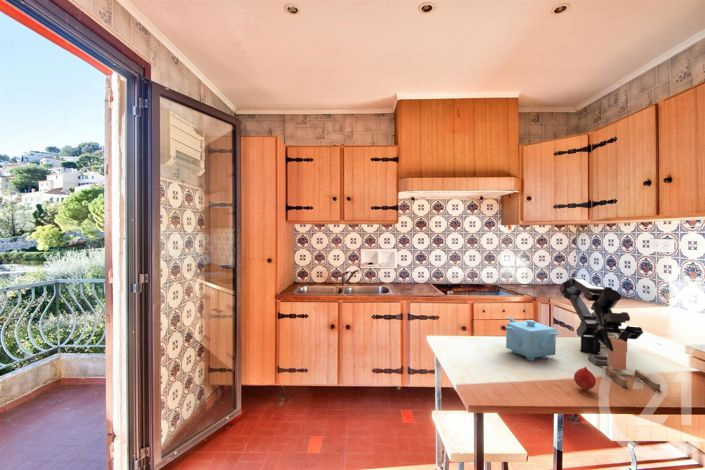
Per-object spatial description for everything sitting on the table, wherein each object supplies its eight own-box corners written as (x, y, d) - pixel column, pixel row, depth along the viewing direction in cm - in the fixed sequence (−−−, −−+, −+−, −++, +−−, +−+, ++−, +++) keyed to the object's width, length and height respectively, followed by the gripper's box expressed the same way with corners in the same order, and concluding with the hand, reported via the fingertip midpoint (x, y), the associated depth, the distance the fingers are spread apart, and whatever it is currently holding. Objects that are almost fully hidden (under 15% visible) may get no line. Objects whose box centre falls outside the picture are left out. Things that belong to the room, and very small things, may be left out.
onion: (569, 386, 106) (570, 362, 106) (585, 385, 107) (586, 362, 107) (583, 395, 101) (584, 370, 100) (600, 394, 101) (600, 370, 101)
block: (607, 364, 121) (608, 337, 121) (619, 365, 120) (620, 338, 120) (613, 369, 117) (614, 341, 117) (625, 370, 116) (626, 342, 116)
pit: (588, 359, 130) (588, 354, 130) (616, 362, 127) (616, 357, 127) (595, 365, 124) (595, 360, 124) (625, 368, 122) (625, 363, 122)
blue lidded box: (552, 352, 137) (553, 318, 137) (558, 368, 120) (560, 330, 120) (504, 344, 145) (505, 312, 145) (504, 358, 129) (505, 323, 128)
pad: (601, 366, 123) (601, 365, 123) (622, 369, 121) (622, 368, 121) (609, 373, 117) (609, 372, 117) (632, 375, 115) (632, 374, 115)
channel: (605, 373, 117) (605, 366, 117) (638, 377, 114) (638, 370, 114) (623, 387, 106) (623, 380, 106) (660, 392, 104) (660, 384, 104)
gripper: (585, 301, 125) (598, 338, 114) (641, 305, 120) (660, 344, 110) (575, 316, 132) (587, 352, 122) (627, 320, 128) (644, 357, 117)
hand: (619, 351), depth 117 cm, fingers closed on block, 4 cm apart
